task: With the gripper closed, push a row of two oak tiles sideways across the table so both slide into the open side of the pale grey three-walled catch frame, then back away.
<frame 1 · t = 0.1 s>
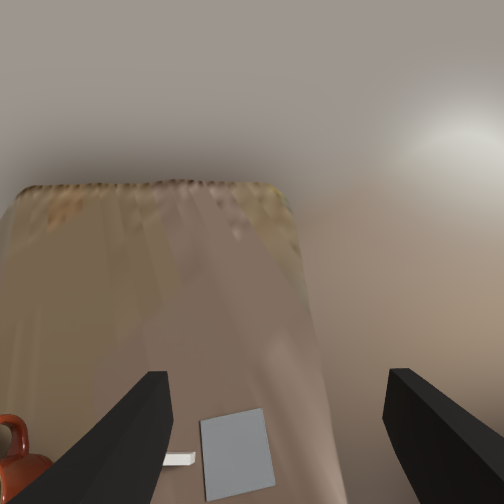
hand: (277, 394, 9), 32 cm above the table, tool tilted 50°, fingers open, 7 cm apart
slate coaster: (236, 450, 35), on the table
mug: (35, 473, 34), on the table
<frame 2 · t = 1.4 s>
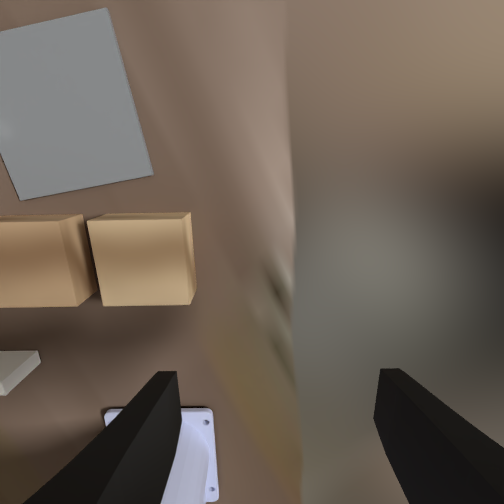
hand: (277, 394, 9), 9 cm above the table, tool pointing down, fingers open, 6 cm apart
slate coaster: (68, 115, 16), on the table
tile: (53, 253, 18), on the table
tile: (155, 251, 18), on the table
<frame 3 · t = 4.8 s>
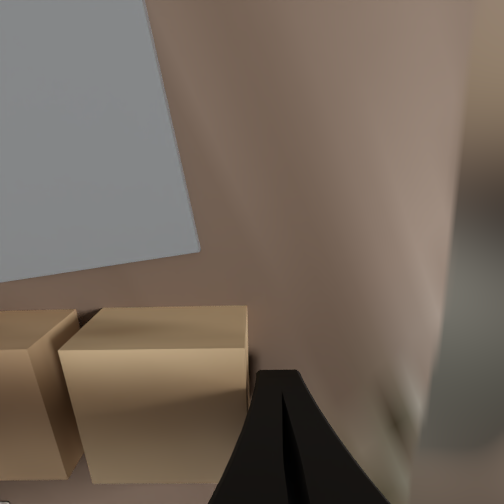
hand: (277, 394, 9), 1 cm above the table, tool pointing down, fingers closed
slate coaster: (49, 141, 9), on the table
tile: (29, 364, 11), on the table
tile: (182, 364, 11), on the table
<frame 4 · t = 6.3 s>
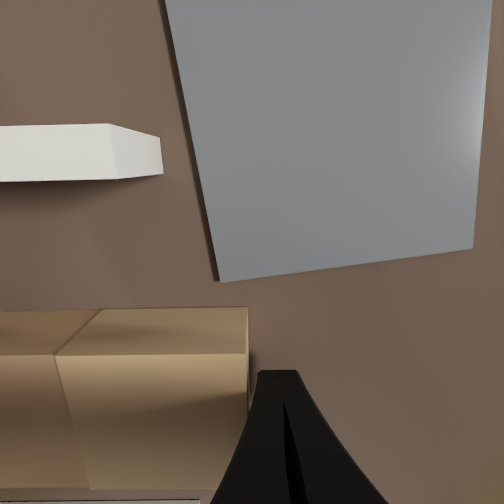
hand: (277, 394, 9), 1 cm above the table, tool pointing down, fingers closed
slate coaster: (328, 135, 9), on the table
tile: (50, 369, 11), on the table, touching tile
catch frame: (25, 371, 11), on the table
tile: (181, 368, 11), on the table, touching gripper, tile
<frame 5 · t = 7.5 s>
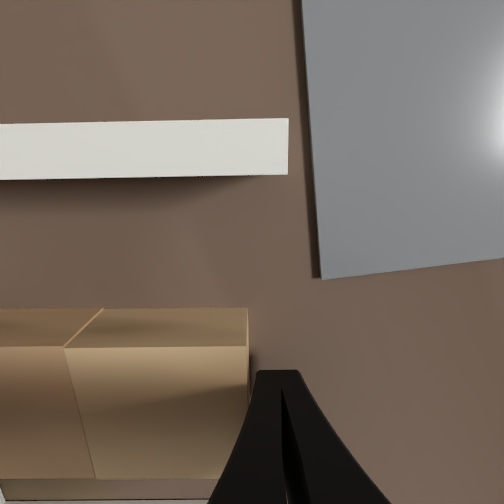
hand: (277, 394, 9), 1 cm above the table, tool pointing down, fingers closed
slate coaster: (439, 132, 9), on the table
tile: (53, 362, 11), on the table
catch frame: (113, 369, 11), on the table
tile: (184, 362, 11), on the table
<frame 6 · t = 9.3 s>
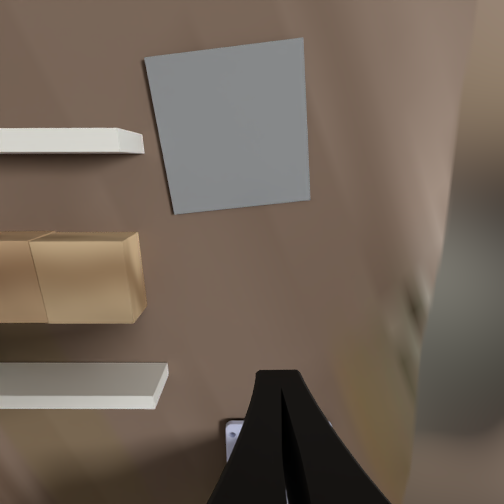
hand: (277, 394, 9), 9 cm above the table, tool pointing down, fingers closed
slate coaster: (234, 135, 16), on the table
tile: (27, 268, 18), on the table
catch frame: (62, 270, 18), on the table
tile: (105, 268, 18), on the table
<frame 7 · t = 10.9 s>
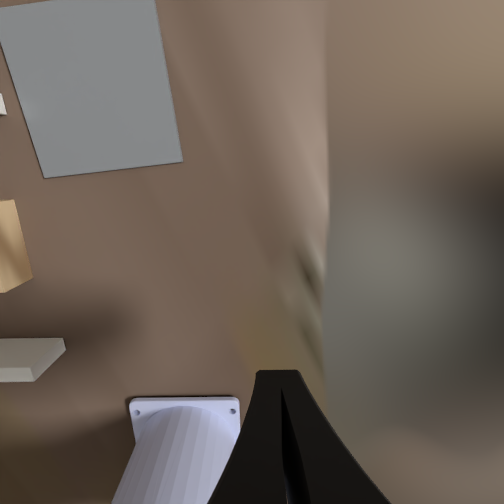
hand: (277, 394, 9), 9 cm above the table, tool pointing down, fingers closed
slate coaster: (100, 94, 16), on the table
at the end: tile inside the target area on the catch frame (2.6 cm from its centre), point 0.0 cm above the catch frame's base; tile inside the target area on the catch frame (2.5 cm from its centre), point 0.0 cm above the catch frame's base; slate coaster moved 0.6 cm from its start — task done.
